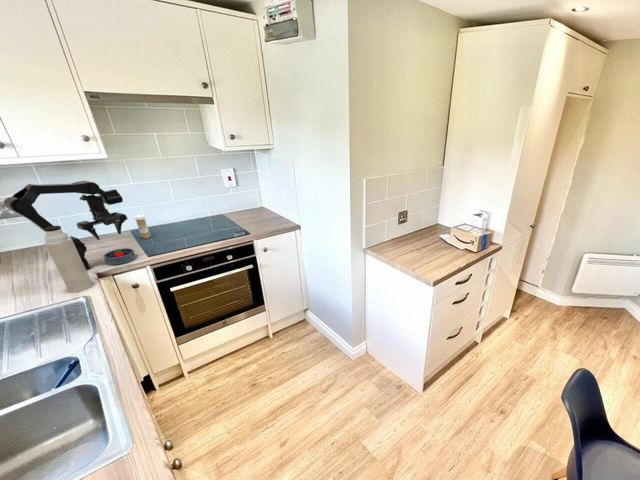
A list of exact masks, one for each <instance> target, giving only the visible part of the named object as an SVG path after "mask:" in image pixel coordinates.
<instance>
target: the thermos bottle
mask: <svg viewBox="0 0 640 480" xmlns="http://www.w3.org/2000/svg"><path fill="white" fill-rule="evenodd" d="M44 231H45V232H44ZM44 231H43V232H44V233H45V236H43V237H44V245H45V247H46V250H47V251H48V253H49V255H50V257H51V260H52V261H53V263H54V266H55V267H56V269H57V271H58V272H59V275H60V277H61V279H62V281H63V282H64V284H65V287H66V289H67V290H68V291H69V292H72V293H73V292H74V293H75V292H81V291H84V290H88V289H90V288H91V287H92V286H93V282H92V280H91V277H90V275H89V272H88V270H86V269H85V267H84V264H83V262H82V260H81V258H80V256H79V254H78V251H77V249H76V247H75V245H74V243H73V241H72V239H71V238H70V237H71V236H69V234H67V232H64V231H63V229H62V226H60V225H53V226H50V227H46V228H44Z"/></svg>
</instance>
